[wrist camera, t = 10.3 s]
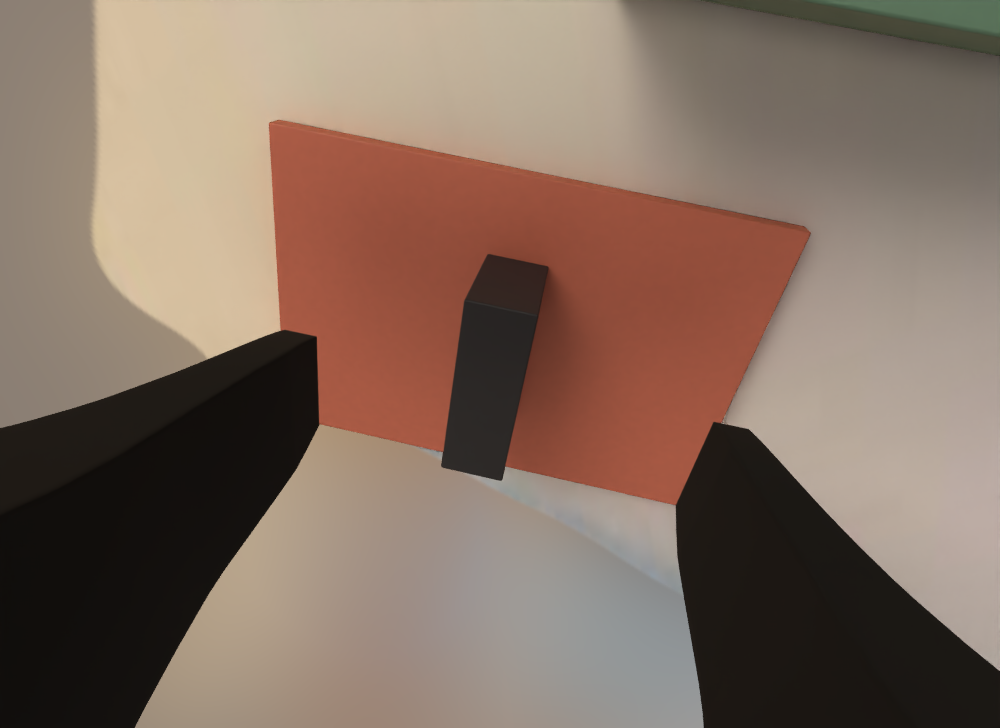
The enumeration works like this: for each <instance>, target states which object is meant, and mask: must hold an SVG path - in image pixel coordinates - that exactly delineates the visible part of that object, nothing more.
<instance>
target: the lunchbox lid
mask: <svg viewBox="0 0 1000 728" xmlns="http://www.w3.org/2000/svg"><path fill="white" fill-rule="evenodd" d="M269 134H270V152H271V169H272V187H273V204H274V222H275V239H276V257H277V274H278V291H279V309H280V326H281V331H282V330H289V331H294V332H298V333H303V334H308V335H312V336H317V359H318V396H319V424H322V425H326V426H331V427H335V428H340V429H344V430H348V431H353V432H357V433H362V434H366V435H371V436H375V437H379V438H383V439H388V440H392V441H397V442H401V443H405V444H410V445H414V446H418V447H423V448H427V449H432V450H436V451H440V452H443V456H442V464H441V466H442V467H443V468H447V469H451V470H456V471H460V472H464V473H469V474H473V475H478V476H482V477H486V478H491V479H495V480H499V481H501V480H502V479H503V474H504V470H505V466H506V467H511V468H515V469H519V470H524V471H528V472H533V473H537V474H541V475H546V476H550V477H554V478H559V479H563V480H568V481H572V482H576V483H581V484H585V485H590V486H594V487H598V488H603V489H607V490H611V491H616V492H620V493H625V494H629V495H633V496H638V497H642V498H647V499H651V500H655V501H660V502H664V503H668V504H673V505H676V503H677V501H678V499H679V497H680V495H681V492H682V490H683V488H684V486H685V484H686V481H687V479H688V477H689V475H690V473H691V470H692V468H693V466H694V464H695V461H696V459H697V457H698V455H699V453H700V450H701V448H702V446H703V444H704V442H705V439H706V437H707V435H708V433H709V430H710V428H711V426H712V424H713V422H717V423H721V422H722V420H723V418H724V416H725V414H726V412H727V410H728V408H729V405H730V403H731V401H732V399H733V397H734V395H735V393H736V391H737V389H738V386H739V384H740V382H741V380H742V378H743V376H744V374H745V372H746V370H747V367H748V365H749V363H750V361H751V359H752V357H753V355H754V353H755V350H756V348H757V346H758V344H759V342H760V340H761V338H762V336H763V334H764V331H765V329H766V327H767V325H768V323H769V321H770V319H771V317H772V315H773V312H774V310H775V308H776V306H777V304H778V302H779V300H780V298H781V296H782V293H783V291H784V289H785V287H786V285H787V283H788V281H789V279H790V277H791V274H792V272H793V270H794V268H795V266H796V264H797V262H798V260H799V258H800V255H801V253H802V251H803V249H804V247H805V245H806V243H807V241H808V239H809V236H810V234H811V232H810V231H809V230H808V229H807V228H805V227H804V226H799V225H794V224H789V223H784V222H779V221H774V220H769V219H765V218H760V217H755V216H750V215H745V214H740V213H735V212H730V211H725V210H720V209H715V208H710V207H705V206H700V205H696V204H691V203H686V202H681V201H676V200H671V199H666V198H661V197H656V196H651V195H646V194H641V193H636V192H631V191H627V190H622V189H617V188H612V187H607V186H602V185H597V184H592V183H587V182H582V181H577V180H572V179H567V178H562V177H558V176H553V175H548V174H543V173H538V172H533V171H528V170H523V169H518V168H513V167H508V166H503V165H498V164H493V163H488V162H484V161H479V160H474V159H469V158H464V157H459V156H454V155H449V154H444V153H439V152H434V151H429V150H424V149H419V148H415V147H410V146H405V145H400V144H395V143H390V142H385V141H380V140H375V139H370V138H365V137H360V136H355V135H350V134H346V133H341V132H336V131H331V130H326V129H321V128H316V127H311V126H306V125H301V124H296V123H291V122H286V121H281V120H277V121H273V122H270V123H269Z"/></svg>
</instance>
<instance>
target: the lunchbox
mask: <svg viewBox="0 0 1000 728" xmlns="http://www.w3.org/2000/svg"><path fill="white" fill-rule="evenodd" d="M701 1H706V2H712V3H717V4H723V5H728V6H733V7H739V8H744V9H750V10H755V11H760V12H766V13H771V14H776V15H782V16H787V17H793V18H798V19H803V20H809V21H814V22H820V23H825V24H830V25H836V26H841V27H847V28H852V29H857V30H863V31H868V32H873V33H879V34H884V35H890V36H895V37H900V38H906V39H911V40H917V41H922V42H927V43H933V44H938V45H944V46H949V47H954V48H960V49H965V50H971V51H976V52H981V53H987V54H992V55H997V56H1000V0H701Z"/></svg>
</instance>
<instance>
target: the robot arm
mask: <svg viewBox="0 0 1000 728" xmlns="http://www.w3.org/2000/svg"><path fill="white" fill-rule="evenodd" d="M318 426H319V396H318V359H317V336H312V335H308V334H303V333H298V332H294V331H289V330H282V331H279V332H276V333H273V334H270V335H267V336H264V337H262V338H259V339H257V340H254V341H252V342H249V343H247V344H244V345H242V346H239V347H237V348H235V349H232V350H230V351H227V352H225V353H222V354H220V355H217V356H215V357H213V358H210V359H208V360H205V361H203V362H200V363H198V364H195V365H193V366H190V367H188V368H186V369H183V370H181V371H178V372H175V373H173V374H170V375H167V376H165V377H162V378H159V379H156V380H154V381H151V382H148V383H146V384H143V385H140V386H137V387H135V388H132V389H129V390H126V391H124V392H121V393H118V394H116V395H113V396H110V397H107V398H104V399H101V400H98V401H95V402H92V403H89V404H85V405H82V406H79V407H76V408H72V409H69V410H66V411H62V412H59V413H55V414H52V415H48V416H45V417H41V418H38V419H34V420H31V421H27V422H23V423H20V424H16V425H12V426H8V427H4V428H0V728H135V726H136V724H137V722H138V720H139V718H140V716H141V714H142V712H143V710H144V708H145V707H146V705H147V703H148V701H149V699H150V697H151V696H152V694H153V692H154V690H155V688H156V686H157V685H158V683H159V681H160V679H161V677H162V675H163V673H164V672H165V670H166V668H167V666H168V664H169V663H170V661H171V659H172V657H173V655H174V653H175V652H176V650H177V648H178V646H179V644H180V642H181V641H182V639H183V638H184V636H185V634H186V632H187V631H188V629H189V627H190V625H191V624H192V622H193V620H194V618H195V617H196V615H197V613H198V611H199V610H200V608H201V606H202V604H203V602H204V601H205V599H206V598H207V596H208V594H209V593H210V591H211V590H212V588H213V587H214V585H215V583H216V582H217V580H218V579H219V578H220V576H221V574H222V573H223V571H224V570H225V568H226V567H227V566H228V564H229V563H230V562H231V560H232V559H233V557H234V556H235V555H236V553H237V552H238V550H239V549H240V547H241V546H242V545H243V543H244V542H245V541H246V539H247V538H248V537H249V535H250V534H251V532H252V531H253V530H254V528H255V527H256V525H257V524H258V523H259V521H260V520H261V518H262V517H263V516H264V514H265V513H266V511H267V510H268V509H269V507H270V506H271V505H272V503H273V502H274V500H275V499H276V497H277V496H278V495H279V493H280V492H281V490H282V489H283V488H284V486H285V485H286V483H287V482H288V480H289V479H290V478H291V476H292V475H293V473H294V472H295V470H296V469H297V467H298V465H299V463H300V461H301V459H302V458H303V456H304V454H305V452H306V450H307V448H308V446H309V444H310V442H311V440H312V438H313V436H314V434H315V432H316V430H317V428H318ZM676 534H677V556H678V563H679V570H680V576H681V582H682V588H683V594H684V600H685V606H686V612H687V617H688V623H689V629H690V634H691V640H692V646H693V652H694V657H695V663H696V669H697V675H698V681H699V688H700V695H701V703H702V711H703V722H704V728H1000V671H999V670H998V669H996V668H995V667H994V666H993V665H991V664H990V663H989V662H988V661H986V660H985V659H984V658H983V657H982V656H980V655H979V654H978V653H977V652H975V651H974V650H973V649H972V648H971V647H969V646H968V645H967V644H966V643H964V642H963V641H962V640H961V639H960V638H959V637H957V636H956V635H955V634H954V633H953V632H952V631H951V630H949V629H948V628H947V627H946V626H945V625H944V624H942V623H941V622H940V621H939V620H938V619H937V618H936V617H934V616H933V615H932V614H931V613H930V612H929V611H927V610H926V609H925V608H924V607H923V606H922V605H921V604H919V603H918V602H917V601H916V600H915V599H914V598H913V597H912V596H910V595H909V594H908V593H907V592H906V591H905V590H904V589H903V588H902V587H901V586H900V585H898V584H897V583H896V582H895V581H894V580H893V579H892V578H891V577H890V576H889V575H888V574H887V573H886V572H885V571H884V570H883V569H882V568H881V567H880V566H879V565H878V564H877V563H876V562H875V561H874V560H873V559H872V558H871V557H869V556H868V555H867V554H866V553H865V552H864V551H863V550H862V549H861V548H860V547H859V546H858V545H857V544H856V543H855V542H854V541H853V540H852V539H851V538H850V537H849V536H848V535H847V534H846V533H845V531H844V530H843V529H842V528H841V527H840V526H839V525H838V524H837V523H836V522H835V521H834V520H833V519H832V518H831V517H830V516H829V515H828V514H827V513H826V512H825V511H824V509H823V508H822V507H821V506H820V505H819V504H818V503H817V502H816V501H815V500H814V499H813V498H812V497H811V495H810V494H809V493H808V492H807V491H806V490H805V489H804V488H803V487H802V486H801V485H800V483H799V482H798V481H797V480H796V479H795V478H794V477H793V476H792V475H791V473H790V472H789V471H788V470H787V469H786V468H785V467H784V466H783V465H782V464H781V462H780V461H779V460H778V459H777V458H776V457H775V456H774V455H773V454H772V453H771V452H770V450H769V449H768V448H767V447H766V446H765V445H764V444H763V443H762V442H761V441H760V440H759V439H758V438H757V437H756V436H755V435H754V434H753V433H752V432H751V431H750V430H749V429H745V428H740V427H736V426H731V425H726V424H722V423H717V422H713V424H712V426H711V428H710V430H709V433H708V435H707V437H706V439H705V442H704V444H703V446H702V448H701V450H700V453H699V455H698V457H697V459H696V461H695V464H694V466H693V468H692V470H691V473H690V475H689V477H688V479H687V481H686V484H685V486H684V488H683V490H682V492H681V495H680V497H679V499H678V501H677V503H676Z"/></svg>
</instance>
